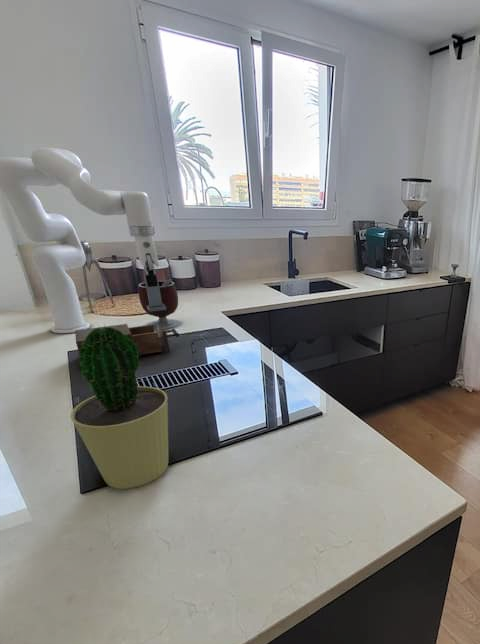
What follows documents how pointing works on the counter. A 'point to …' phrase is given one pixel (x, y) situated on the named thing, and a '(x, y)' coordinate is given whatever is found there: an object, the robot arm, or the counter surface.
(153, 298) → the bottle opener
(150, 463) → the potted cactus
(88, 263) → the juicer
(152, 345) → the drawer
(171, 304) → the mate gourd
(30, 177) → the robot arm
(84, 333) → the cabinet
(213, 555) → the counter surface
